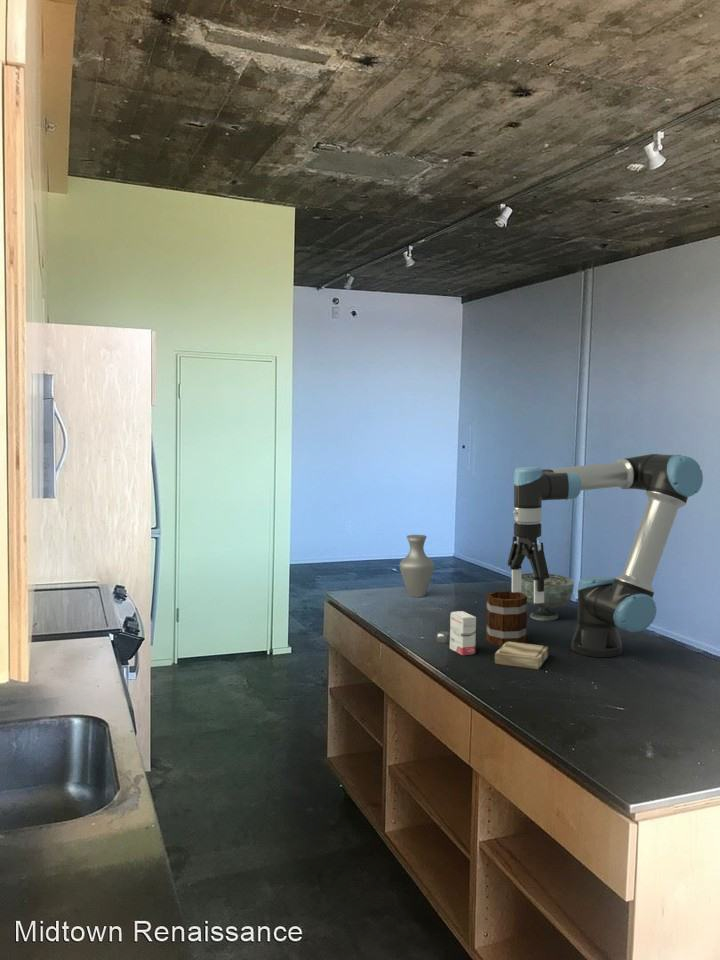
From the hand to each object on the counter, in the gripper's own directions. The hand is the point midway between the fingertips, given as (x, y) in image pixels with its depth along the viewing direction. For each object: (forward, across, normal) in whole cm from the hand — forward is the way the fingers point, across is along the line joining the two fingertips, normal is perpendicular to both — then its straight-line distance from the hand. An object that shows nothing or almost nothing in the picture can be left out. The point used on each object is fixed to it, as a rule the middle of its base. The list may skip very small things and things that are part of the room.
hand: (527, 597), depth 210 cm
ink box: (+23, -26, -9) cm, 36 cm away
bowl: (+23, -56, +36) cm, 70 cm away
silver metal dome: (+23, -38, -11) cm, 45 cm away
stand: (+23, -13, +5) cm, 27 cm away
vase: (+23, -102, +1) cm, 104 cm away
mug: (+23, -36, +11) cm, 44 cm away
